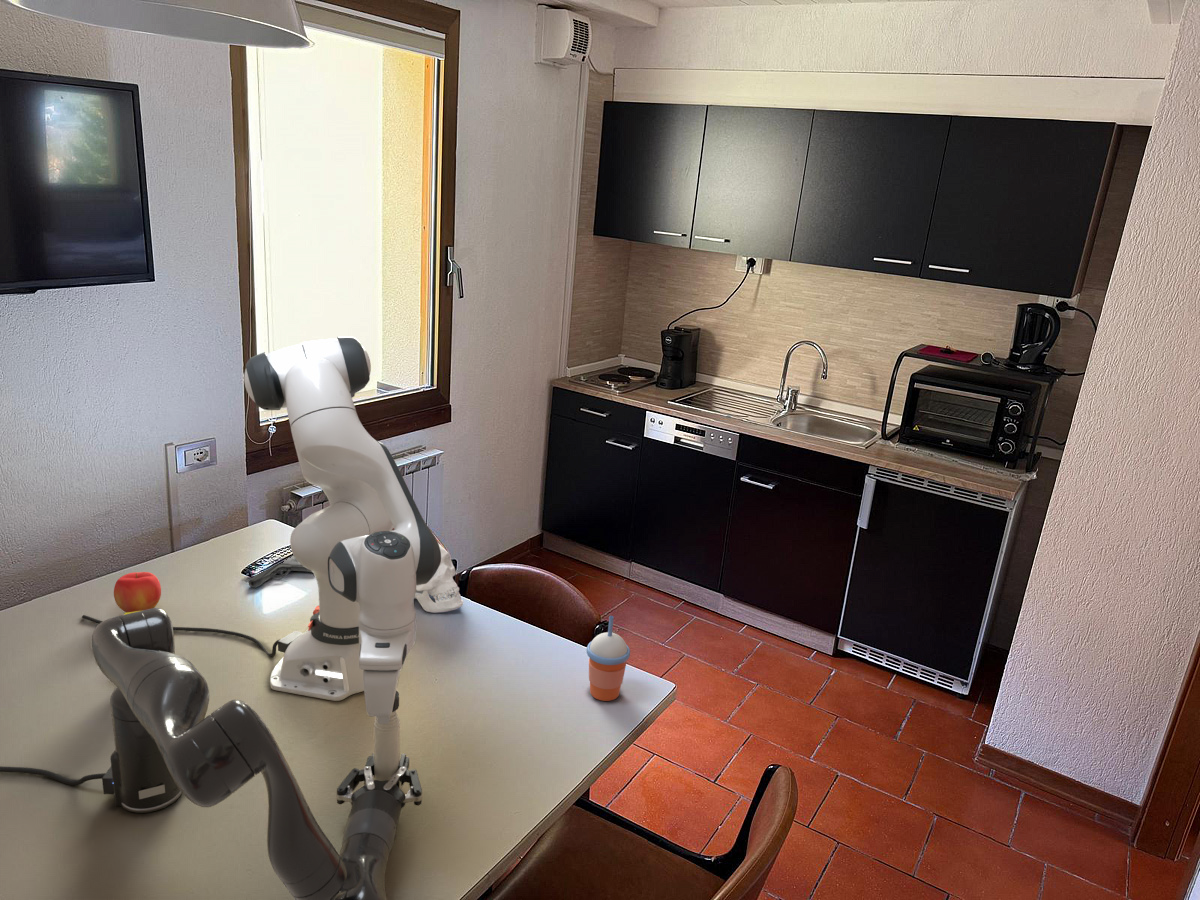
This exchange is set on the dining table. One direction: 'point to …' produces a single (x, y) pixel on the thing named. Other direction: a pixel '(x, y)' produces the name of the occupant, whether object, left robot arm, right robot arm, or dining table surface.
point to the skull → (440, 588)
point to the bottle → (386, 748)
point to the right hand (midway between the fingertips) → (387, 707)
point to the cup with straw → (607, 664)
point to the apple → (137, 591)
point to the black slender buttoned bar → (277, 571)
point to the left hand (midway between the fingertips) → (389, 758)
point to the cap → (396, 702)
